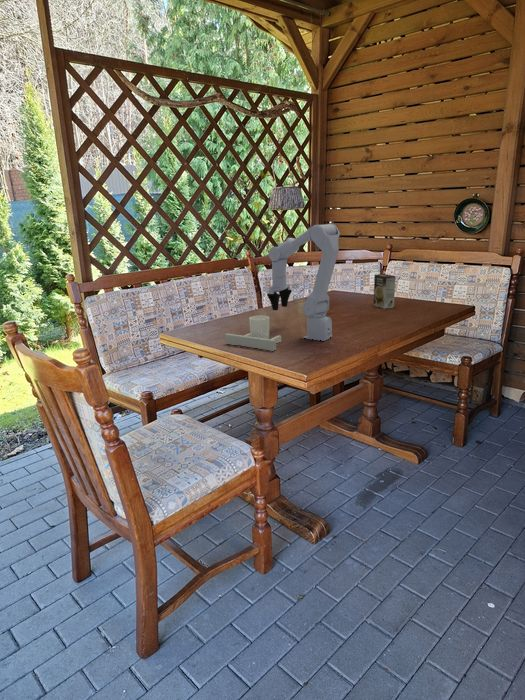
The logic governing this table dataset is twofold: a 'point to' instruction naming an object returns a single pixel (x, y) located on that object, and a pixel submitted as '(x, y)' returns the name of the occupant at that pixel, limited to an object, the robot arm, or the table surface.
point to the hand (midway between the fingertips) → (279, 308)
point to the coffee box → (384, 291)
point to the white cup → (259, 326)
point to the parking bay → (253, 341)
